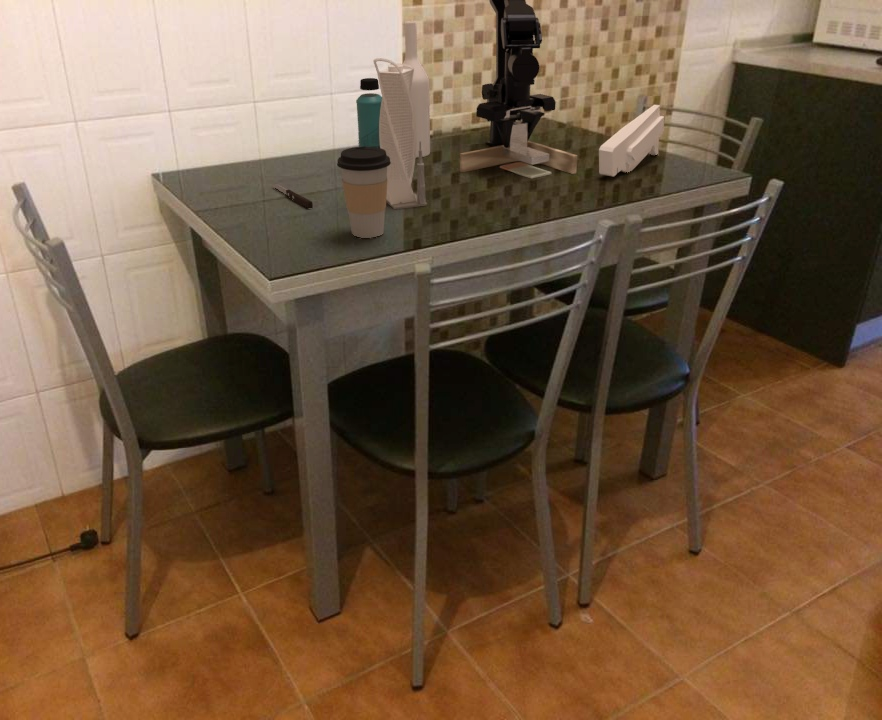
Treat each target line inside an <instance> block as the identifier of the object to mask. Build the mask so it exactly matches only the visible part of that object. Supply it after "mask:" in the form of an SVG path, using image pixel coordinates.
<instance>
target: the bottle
mask: <svg viewBox="0 0 882 720" xmlns="http://www.w3.org/2000/svg"><path fill="white" fill-rule="evenodd" d="M417 33H418V32H417V21H415V20H407V21H405V22H404V41H405V42H404V46H405V48H404V49H405V51H404V52H405V55H404V61H403V62H402V64H406V65H410V66H412V67H413V68H414V73H413V80H412V86H411V92H410V98H411V102H412V106H413V110H414V115H415V121H416V131H417V147H416V158H418V159H419V152H418V151H419V141H421V150H422V158H423V157H424V158H425V157H427V156H429V155H430V154H431V123H430V122H431V121H430V120H431V115H430V110H431V109H430V105H431V104H430V79H429V76H428V74H427V72H426V69H425V68H424V67H423V65H422V64H421V61H420V60H419V58H418V42H417V41H418V40H417V37H418V35H417ZM403 69H411V68H408V67H403ZM416 158H415V159H416Z"/></svg>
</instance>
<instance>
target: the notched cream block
mask: <svg viewBox="0 0 882 720" xmlns="http://www.w3.org/2000/svg"><path fill="white" fill-rule="evenodd" d="M660 113H661V105H660V104H653V105H652V106H650V107H649V108H648V109H646V110H645V111H643V112H642V113H640V114H639V115H638V116H637V117H636V118H634V119H633V120H631V121H629V122H628V123H627V124H626V125H624V126H622V127H621V128H620V129H619V130H618V131H616V133H615V134H613V135H612V136H611V137H610V138H608V139H607V140H606V141H604V143H602V144H601V145H600V147H599V148H598V170H599V171H598V173H599V175H602V176H609V177H615V176H616V175H617V174H618V173H620V172H621V173H626V172H627V174H629V173H630V171H631V172H632V171H633V170H634V169H636V167H637V166H638V165H639V164H640V163H641V162H642V161H643V159H644V158H646V156H647V155H648V154H649V155H650V154H651V156H655V155H657V154H658V155H659V147H660V146H659V145H660V143H659V142H660V140H659V138H660V137H661V135H663V133H664V131H665V116H664V115H660ZM628 172H629V173H628Z"/></svg>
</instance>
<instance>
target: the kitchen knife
mask: <svg viewBox="0 0 882 720" xmlns="http://www.w3.org/2000/svg"><path fill="white" fill-rule="evenodd" d="M272 185H273V186H274V187H276V188H277V189H279V190H281V191H283V192H284V193H286V195H287V196H288V197H287V196H286V195H285V196H286V197H287V198H289V197H290V198H291V199H293V200H294V201H296V202H298V203H299V204H298V203H297V204H298V205H300V204H301V205H300V206H302V205H303V206H302V207H304V206H305V207H304V208H306V207H307V208H312V209H313V201H312V200H310V199H308V198H305V197H304V196H302V195H300V194H299V193H296V192H295V191H293V190H290V189H287V188H285V187H283V186H281V185H280V184H272ZM273 186H272V187H273ZM274 187H273V188H274ZM290 198H289V199H290ZM291 199H290V200H291ZM293 200H292V201H293ZM294 201H293V202H294ZM296 202H295V203H296ZM307 208H306V209H307Z"/></svg>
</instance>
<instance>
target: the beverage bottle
mask: <svg viewBox="0 0 882 720" xmlns="http://www.w3.org/2000/svg"><path fill="white" fill-rule="evenodd" d="M359 82H360V83H359V84H360V85H359V86H360V87H359V90H361V91H377V90H379V89H380V84H379V79H378V78H376V77H375V78H373V77H368V78H361V79H360V81H359ZM381 102H382V95H381V94H379V93H375V92H374V93H372V92H371V93H370V92H369V93H363V94H361V95H359V96H358V97H357V99H356V102H355V103H356V112H357V113H356V114H357V115H356V117H357V127H358V128H357V129H358V130H357V131H358V132H357V133H358V134H357V137H358V140H357V142H358V147H377V148H380V139H379V119H380V109H381Z"/></svg>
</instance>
